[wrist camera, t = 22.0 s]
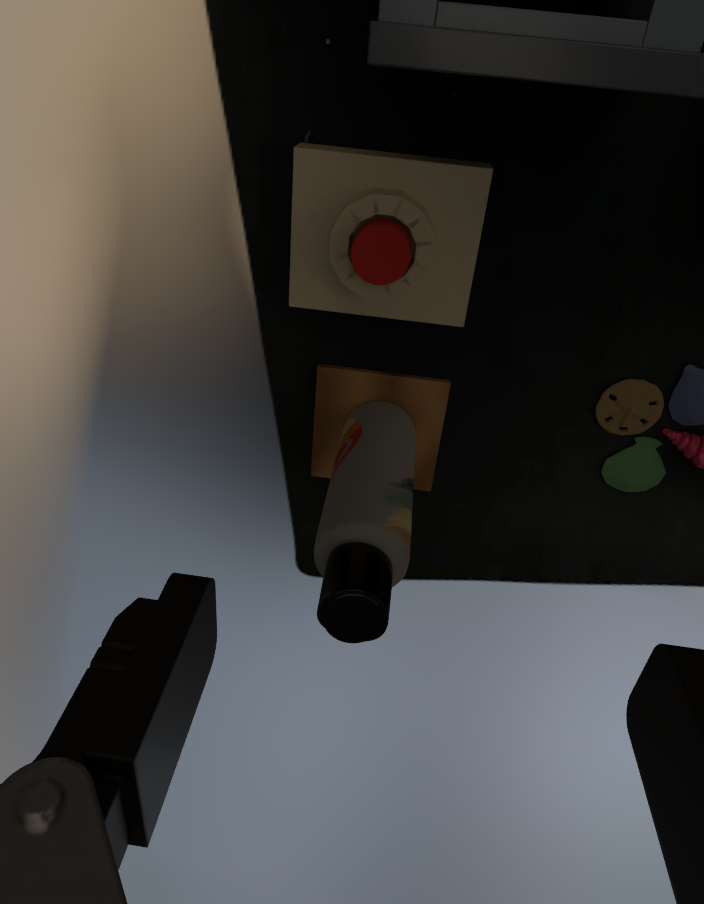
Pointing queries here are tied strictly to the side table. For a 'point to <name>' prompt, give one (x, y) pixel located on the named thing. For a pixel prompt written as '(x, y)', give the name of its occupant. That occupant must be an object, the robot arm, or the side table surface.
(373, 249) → the button
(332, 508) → the spray bottle
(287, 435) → the side table surface
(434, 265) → the control box
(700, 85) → the dark grey square holder
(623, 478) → the toy pieces
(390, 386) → the coaster
